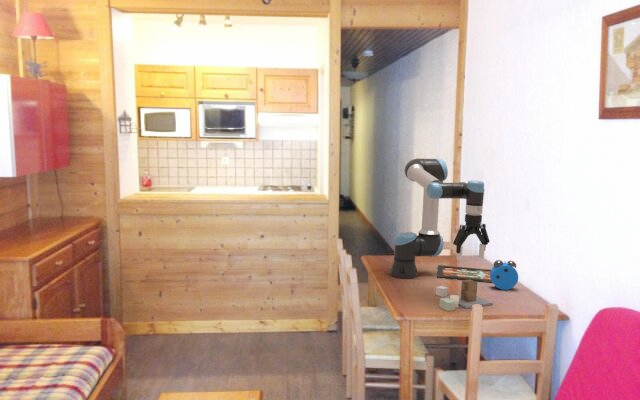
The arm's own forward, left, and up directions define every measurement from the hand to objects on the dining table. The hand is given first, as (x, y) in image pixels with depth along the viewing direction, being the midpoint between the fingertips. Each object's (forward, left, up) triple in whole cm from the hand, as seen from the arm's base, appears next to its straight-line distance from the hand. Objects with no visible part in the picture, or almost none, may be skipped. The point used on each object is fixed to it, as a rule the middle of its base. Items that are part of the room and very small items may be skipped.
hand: (470, 258), depth 251 cm
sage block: (+4, -16, -21) cm, 27 cm away
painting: (-38, +35, -22) cm, 56 cm away
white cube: (-13, -5, -21) cm, 25 cm away
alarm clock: (-10, +33, -21) cm, 40 cm away
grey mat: (0, 0, -21) cm, 21 cm away
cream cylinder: (+3, -11, -21) cm, 24 cm away
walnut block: (+1, 0, -20) cm, 20 cm away
